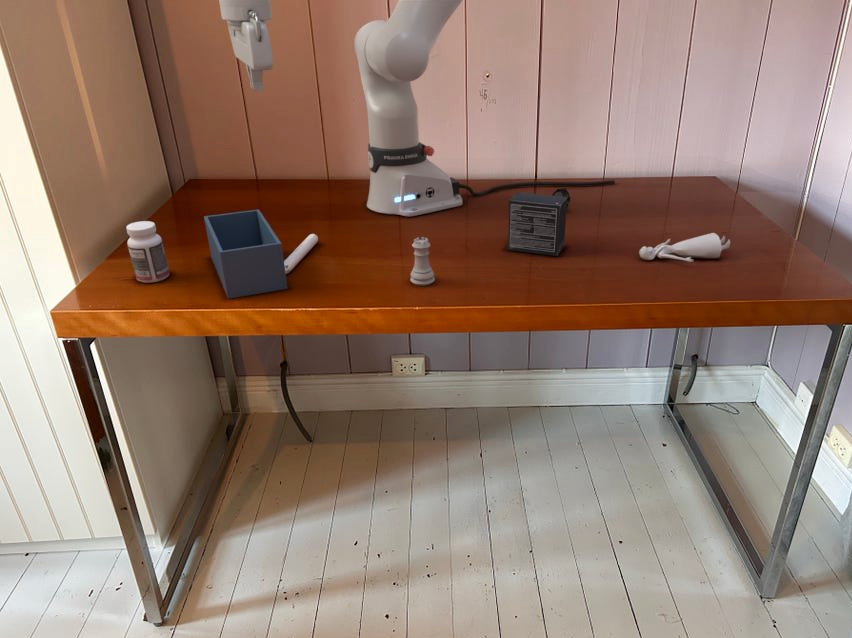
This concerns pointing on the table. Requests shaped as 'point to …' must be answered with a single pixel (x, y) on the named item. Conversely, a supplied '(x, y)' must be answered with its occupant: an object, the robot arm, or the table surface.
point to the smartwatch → (562, 194)
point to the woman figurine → (688, 248)
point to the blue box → (245, 253)
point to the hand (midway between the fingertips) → (257, 90)
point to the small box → (537, 223)
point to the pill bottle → (147, 252)
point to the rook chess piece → (421, 263)
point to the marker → (300, 252)
